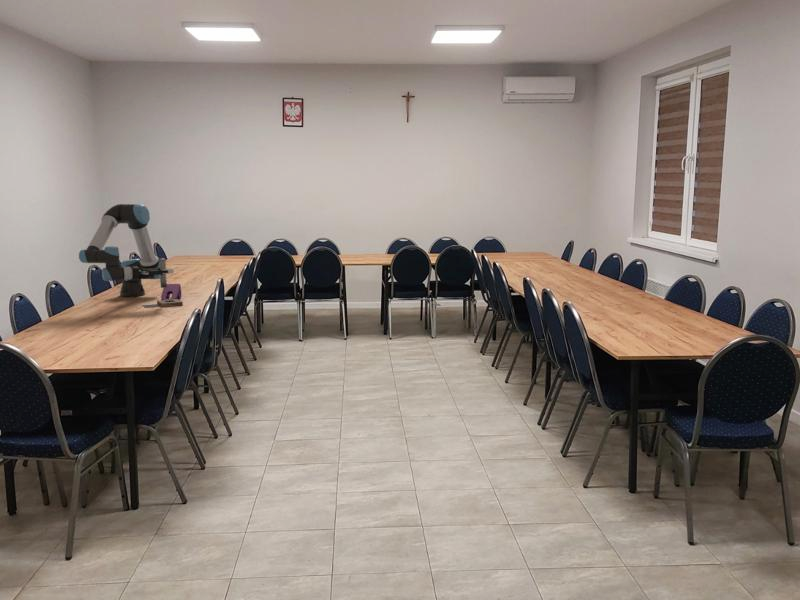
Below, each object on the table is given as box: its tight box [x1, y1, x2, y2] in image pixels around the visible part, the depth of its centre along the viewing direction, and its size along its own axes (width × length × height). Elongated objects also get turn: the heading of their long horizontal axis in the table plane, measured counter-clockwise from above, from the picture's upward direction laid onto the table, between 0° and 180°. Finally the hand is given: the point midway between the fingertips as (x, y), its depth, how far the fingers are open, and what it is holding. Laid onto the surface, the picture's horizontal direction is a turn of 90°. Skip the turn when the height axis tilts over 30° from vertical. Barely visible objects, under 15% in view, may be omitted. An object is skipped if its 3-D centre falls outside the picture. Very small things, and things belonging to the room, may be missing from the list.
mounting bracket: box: [160, 283, 182, 300], centre depth 451 cm, size 10×8×18 cm
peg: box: [158, 257, 168, 289], centre depth 428 cm, size 3×3×17 cm
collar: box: [156, 299, 184, 308], centre depth 433 cm, size 12×12×2 cm
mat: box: [141, 303, 160, 309], centre depth 428 cm, size 10×8×1 cm
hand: (172, 270), depth 431 cm, fingers closed on peg, 3 cm apart
